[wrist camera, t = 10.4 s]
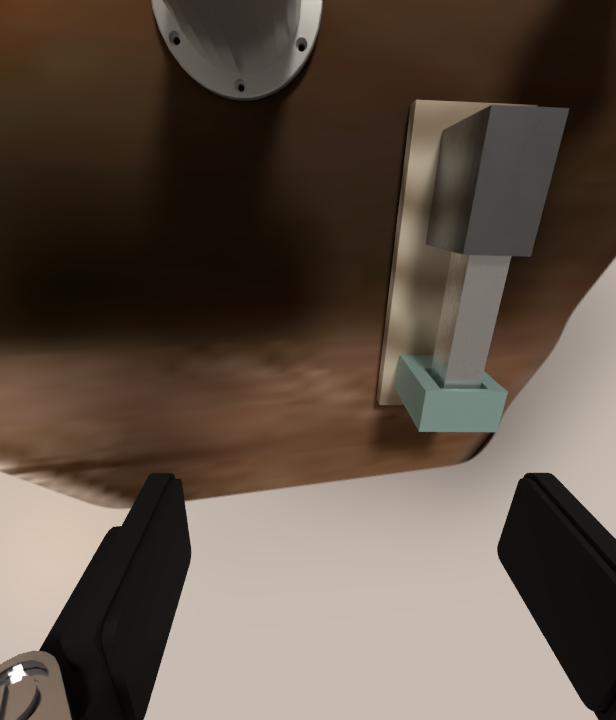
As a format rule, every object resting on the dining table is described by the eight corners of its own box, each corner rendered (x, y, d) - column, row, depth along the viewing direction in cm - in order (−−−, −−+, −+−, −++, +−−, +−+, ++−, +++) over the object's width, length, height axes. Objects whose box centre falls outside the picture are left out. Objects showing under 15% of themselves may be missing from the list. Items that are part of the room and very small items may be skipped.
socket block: (399, 354, 37) (425, 391, 30) (465, 355, 38) (508, 391, 30) (395, 388, 39) (418, 431, 32) (458, 389, 39) (496, 432, 32)
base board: (410, 104, 30) (416, 99, 29) (526, 109, 31) (537, 105, 29) (376, 398, 41) (379, 404, 40) (462, 399, 41) (468, 405, 40)
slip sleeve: (442, 130, 30) (491, 104, 22) (501, 132, 30) (569, 108, 23) (425, 244, 33) (463, 254, 26) (478, 245, 33) (530, 256, 26)
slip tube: (460, 202, 28) (479, 202, 25) (500, 203, 28) (524, 203, 25) (428, 384, 34) (440, 401, 32) (461, 385, 35) (476, 401, 32)
